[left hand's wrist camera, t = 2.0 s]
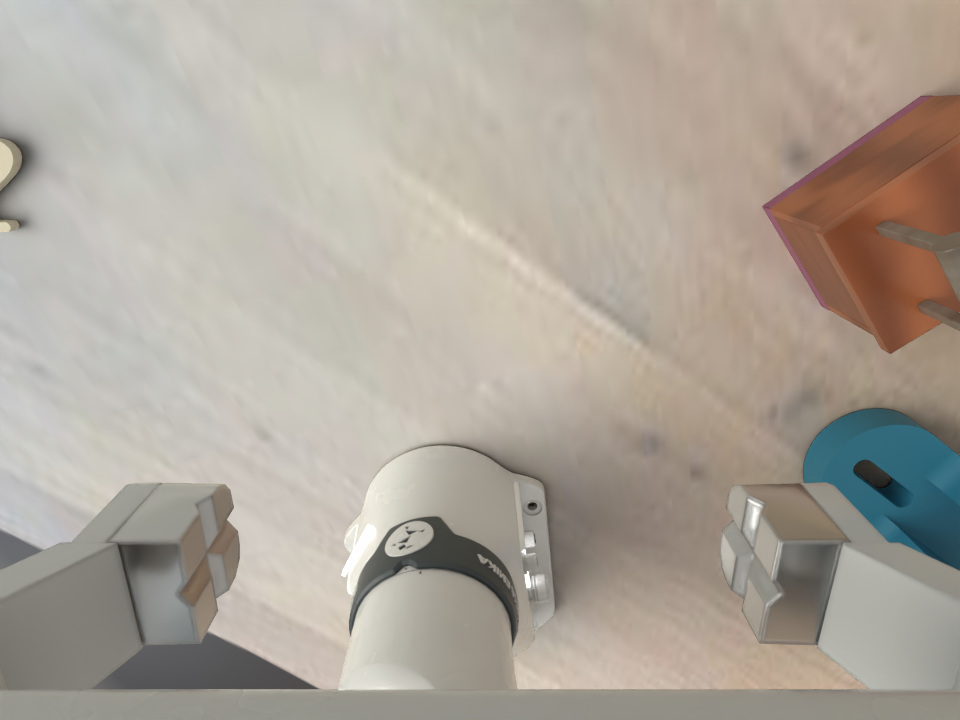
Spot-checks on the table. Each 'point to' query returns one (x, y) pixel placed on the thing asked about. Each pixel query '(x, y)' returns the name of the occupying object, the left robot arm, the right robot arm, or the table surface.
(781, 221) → the chest
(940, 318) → the lid
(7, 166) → the decorative sign
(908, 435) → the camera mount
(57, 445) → the table surface
